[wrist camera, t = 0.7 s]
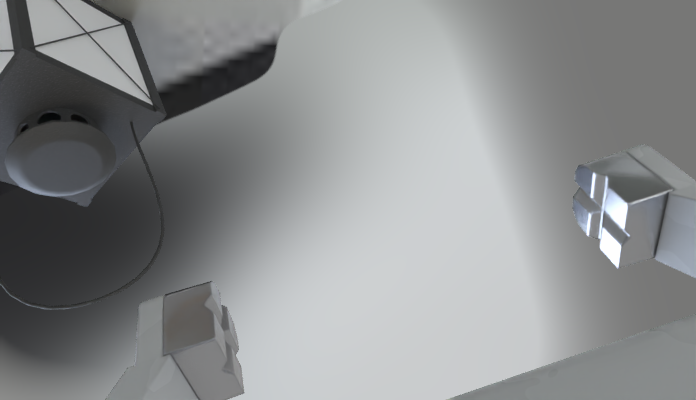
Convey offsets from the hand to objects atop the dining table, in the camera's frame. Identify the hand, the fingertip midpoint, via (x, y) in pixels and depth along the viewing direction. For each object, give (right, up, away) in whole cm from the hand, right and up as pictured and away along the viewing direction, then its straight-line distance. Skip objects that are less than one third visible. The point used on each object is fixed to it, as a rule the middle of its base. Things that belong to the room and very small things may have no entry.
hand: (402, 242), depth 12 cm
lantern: (-28, +15, +37) cm, 49 cm away
